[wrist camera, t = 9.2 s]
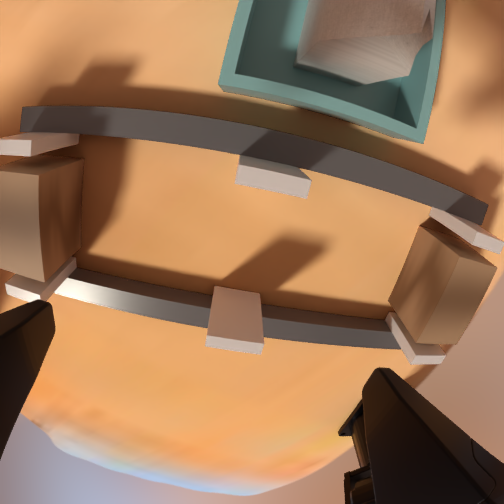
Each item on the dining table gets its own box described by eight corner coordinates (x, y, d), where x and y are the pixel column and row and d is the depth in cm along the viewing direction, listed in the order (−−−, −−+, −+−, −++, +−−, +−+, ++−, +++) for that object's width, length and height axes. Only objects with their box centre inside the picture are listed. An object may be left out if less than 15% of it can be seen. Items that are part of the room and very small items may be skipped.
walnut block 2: (426, 305, 21) (456, 344, 17) (387, 300, 21) (416, 343, 16) (456, 237, 19) (497, 267, 14) (418, 225, 18) (459, 256, 14)
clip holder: (414, 338, 22) (438, 379, 18) (37, 275, 19) (2, 310, 15) (476, 198, 17) (520, 222, 13) (35, 106, 14) (-15, 110, 10)
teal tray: (393, 137, 16) (423, 143, 13) (223, 91, 15) (217, 84, 12) (419, -19, 11) (446, -35, 8) (268, -71, 10) (272, -100, 7)
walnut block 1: (82, 246, 18) (44, 282, 14) (38, 236, 18) (-2, 267, 13) (84, 158, 16) (38, 175, 12) (37, 154, 16) (-11, 169, 11)
